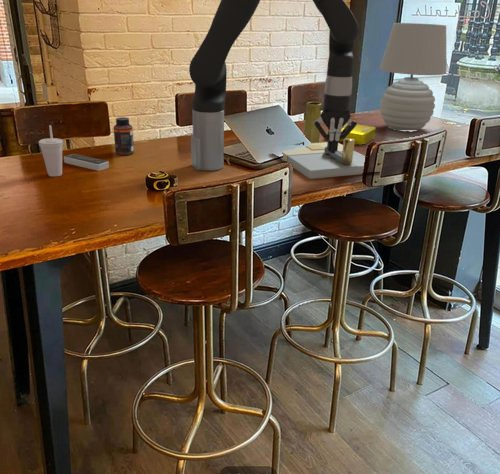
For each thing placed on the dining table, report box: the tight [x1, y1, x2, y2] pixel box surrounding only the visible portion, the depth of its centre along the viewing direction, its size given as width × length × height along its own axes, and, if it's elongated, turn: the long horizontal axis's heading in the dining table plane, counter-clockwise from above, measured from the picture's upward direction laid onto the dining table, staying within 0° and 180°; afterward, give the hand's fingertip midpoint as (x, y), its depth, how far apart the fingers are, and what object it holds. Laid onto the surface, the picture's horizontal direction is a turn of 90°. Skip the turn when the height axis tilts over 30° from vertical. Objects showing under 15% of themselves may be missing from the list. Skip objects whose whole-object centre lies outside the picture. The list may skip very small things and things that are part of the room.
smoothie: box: [38, 124, 64, 177], centre depth 144 cm, size 6×6×14 cm
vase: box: [303, 101, 323, 143], centre depth 186 cm, size 6×6×14 cm
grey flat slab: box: [282, 141, 365, 180], centre depth 166 cm, size 24×28×3 cm
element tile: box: [326, 123, 377, 146], centre depth 196 cm, size 15×15×5 cm
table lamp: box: [379, 22, 447, 131], centre depth 205 cm, size 25×25×40 cm
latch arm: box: [324, 138, 355, 164], centre depth 159 cm, size 14×4×7 cm, turn 21°
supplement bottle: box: [113, 116, 135, 156], centre depth 167 cm, size 6×6×11 cm
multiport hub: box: [63, 153, 110, 172], centre depth 156 cm, size 4×14×2 cm, turn 60°
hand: (331, 152), depth 153 cm, fingers closed
